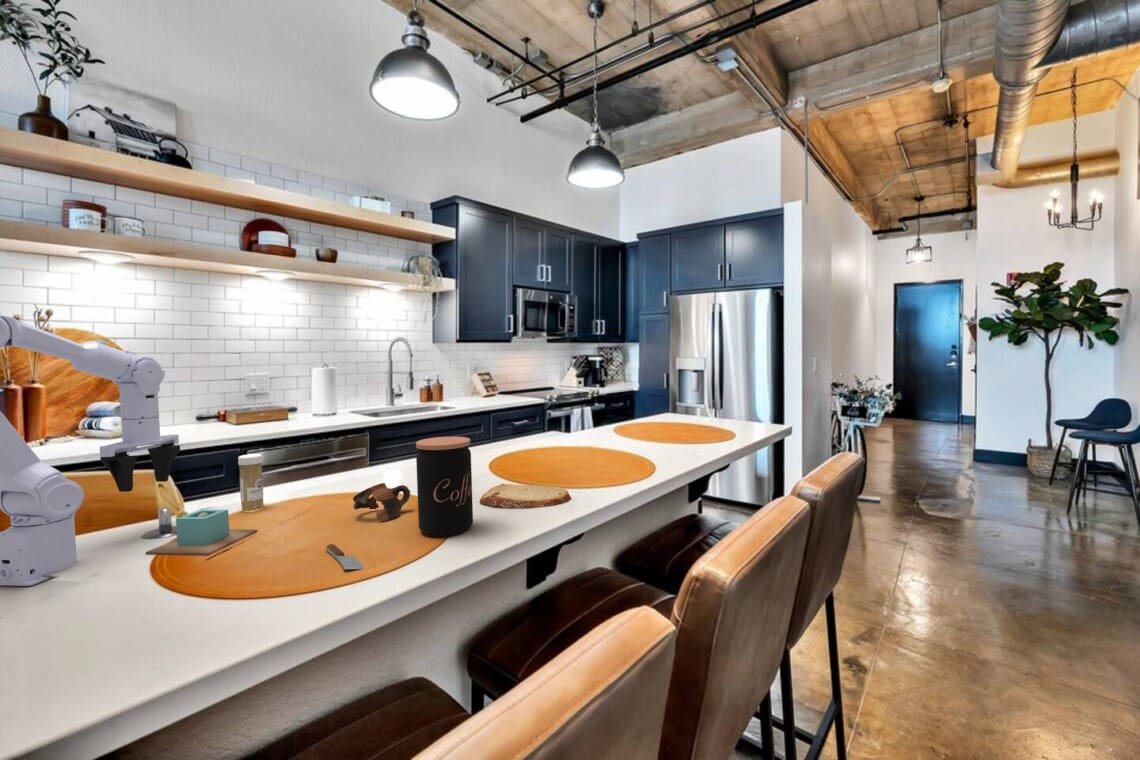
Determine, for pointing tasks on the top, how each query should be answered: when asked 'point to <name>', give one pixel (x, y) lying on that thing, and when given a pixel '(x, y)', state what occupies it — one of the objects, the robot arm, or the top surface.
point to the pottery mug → (382, 500)
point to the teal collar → (202, 528)
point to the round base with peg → (162, 526)
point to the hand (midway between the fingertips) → (144, 486)
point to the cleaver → (344, 558)
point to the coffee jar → (444, 486)
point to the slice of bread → (524, 496)
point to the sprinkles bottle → (251, 481)
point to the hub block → (207, 550)
